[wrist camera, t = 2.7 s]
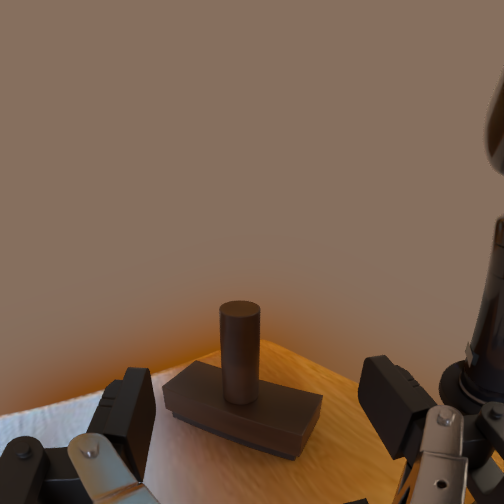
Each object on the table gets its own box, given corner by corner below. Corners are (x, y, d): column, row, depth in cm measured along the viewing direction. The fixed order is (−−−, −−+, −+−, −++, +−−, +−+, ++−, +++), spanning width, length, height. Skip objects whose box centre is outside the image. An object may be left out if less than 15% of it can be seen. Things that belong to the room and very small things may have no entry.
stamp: (198, 389, 30) (190, 283, 27) (318, 425, 24) (334, 309, 22) (167, 416, 25) (149, 303, 23) (297, 465, 20) (314, 342, 17)
